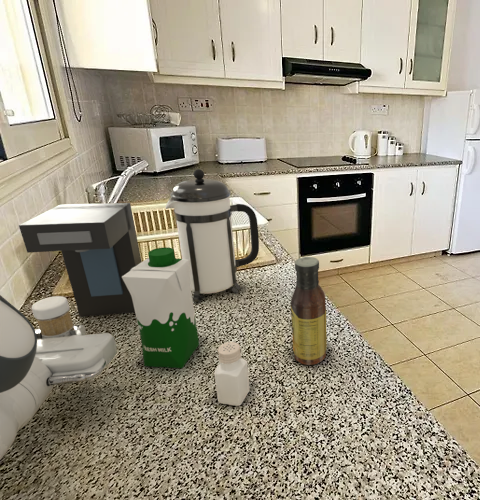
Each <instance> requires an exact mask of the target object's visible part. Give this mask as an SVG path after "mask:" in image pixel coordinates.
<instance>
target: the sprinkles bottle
mask: <svg viewBox="0 0 480 500" xmlns="http://www.w3.org/2000/svg"><path fill="white" fill-rule="evenodd" d="M70 307H71V306H70V304H69V301H68V299H67V297H65V296H62V295H56V296H55V295H54V296H49V297H45V298H42V299H40V300H38V301H36V302H34V303H33V304H32V305H31V311H32V315H33V318H34V319H35V320H36V322H37V325H38V329H40V331H41V334H42V338H43V339H45V338H56V337H67V336H72V335H71V334H70V329H72V328H73V326H75V324H74V322H73V319H72V316H71V313H70V311H71V310H70Z"/></svg>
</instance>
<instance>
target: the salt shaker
mask: <svg viewBox="0 0 480 500" xmlns="http://www.w3.org/2000/svg"><path fill="white" fill-rule="evenodd" d="M241 353H242V352H241V346H240V344H239V343H238V342H235V341H227V342H224V343H222V344H221V345H220V346H218V349H217V355H218V362H219V363H218V365H217V366H216V367H215V370H214V374H213V375H214V381H215V382H214V383H215V389H216V395H217V401H218V403H220V404H223V405H230V406H236V407H239V406H241V405H242V404H243V403H244V401H245V399H246V397H247V396H248V394H249V392H250V389H251V387H250V377H249V367H248V361H247V360H246V359H244V358H242V354H241Z"/></svg>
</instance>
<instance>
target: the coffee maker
mask: <svg viewBox="0 0 480 500" xmlns="http://www.w3.org/2000/svg"><path fill="white" fill-rule="evenodd" d="M18 228H19V230H20V234H21V237H22V241H23V243H24V247H25V250H26V253H27V254H28V253H49V252H50V253H51V252H61V255H62V258H63V262H64V265H65V269H66V273H67V276H68V279H69V283H70V287H71V291H72V294H73V297H74V301H75V305H76V309H77V311H78V315H79V318H81V317H94V316H106V315H108V316H109V315H120V314H129V313H130V314H131V313H132V314H133V313H135V309H134V305H133V300H132V296H131V294H130V292H129V290H128V288H127V286H126V284H125V282H124V280H123V279H122V276H124V275H125V274H126V273H128V272H129V271H130V270H131V269H132V268H133V267H135V266H137V265H138V264H140V263H141V262H143V261H142V256H141V251H140V246H139V241H138V240H139V239H138V236H137V231H136V226H135V220H134V216H133V211H132V205H131V202H106V203H105V202H101V203H65V204H62V203H61V204H58V205H56V206H53V207H52V208H50V209H48V210H46V211H45V212H43V213H41V214H39V215H36V216H35V217H33V218H30V219H28V220H27V221H25V222H23V223H20V224H19V225H18Z"/></svg>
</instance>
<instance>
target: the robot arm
mask: <svg viewBox="0 0 480 500" xmlns="http://www.w3.org/2000/svg"><path fill="white" fill-rule="evenodd" d="M70 334H71V335H72V336H67V337H56V338H45V339H43V338H42V334H41V331H40V328H35V327H34V325H33V324H32V323H31V321H30V320H29V319H28V318H27V316H25V315H24V314H23V313H22V312H21V311H20V310H19V309H18V308H16V307H15V306H14V305H13V304H12V303H10V302H9V301H8V300H7V299H6V298H4V297H3V296H2V295H1V294H0V461H1V460H2V459H3V458H4V457H5V455H6V454H7V453H8V451H9V449H10V448H11V447H12V445H13V444H14V442H15V441H16V437H17V434H18V432H19V431H20V430H21V429H22V428H24V427H25V426H26V425H27V424H28V423H29V422H31V420H32V419H33V418H34V416H35V415H36V413H37V412H38V411H39V410H40V408H41V407H42V405H43V404H44V402H45V401H46V400H47V399H48V397H49V396H50V395H51V393H52V392H53V390H54V387H55V386H57V385H58V386H59V385H66V384H71V383H83V382H86V381H89V380H92V379H94V378H96V377H97V376H99V375H100V374H102V372H103V371H104V370H105V368H107V366H108V365H109V364H110V363H111V362H112V361H113V359H114V357H115V356H116V354H117V352H118V347H117V342H116V340H115V337H114V335H113V334H111V333H110V332H102V333H91V334H87V330H86V325H84V324H80V325H74V326H73V328H72V329H70Z"/></svg>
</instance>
